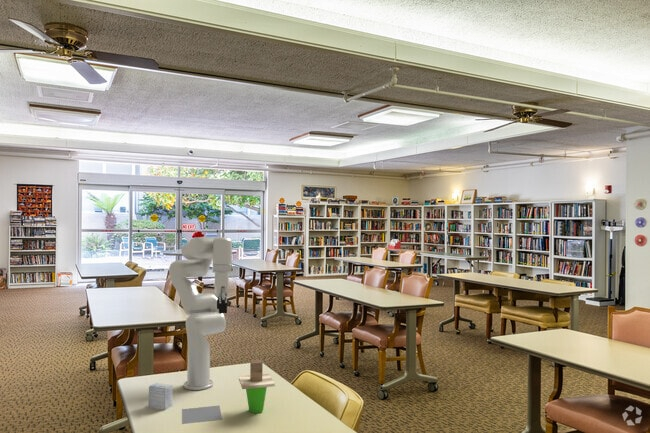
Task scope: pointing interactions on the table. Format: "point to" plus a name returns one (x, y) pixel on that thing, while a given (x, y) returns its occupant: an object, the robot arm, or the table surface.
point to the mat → (201, 414)
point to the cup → (256, 399)
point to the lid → (256, 377)
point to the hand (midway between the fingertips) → (221, 311)
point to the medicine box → (160, 396)
